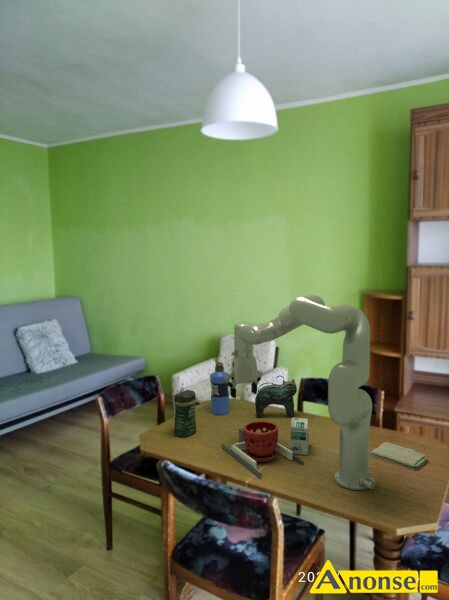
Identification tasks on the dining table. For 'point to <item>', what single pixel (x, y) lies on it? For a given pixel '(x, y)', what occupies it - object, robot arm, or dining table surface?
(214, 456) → the dining table surface
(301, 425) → the light bulb box
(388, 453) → the washcloth
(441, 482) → the dining table surface
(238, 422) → the dining table surface
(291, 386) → the ceramic cat
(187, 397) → the coffee jar
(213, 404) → the water bottle
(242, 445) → the white u-shaped frame
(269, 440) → the plant pot
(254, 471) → the lane rails
